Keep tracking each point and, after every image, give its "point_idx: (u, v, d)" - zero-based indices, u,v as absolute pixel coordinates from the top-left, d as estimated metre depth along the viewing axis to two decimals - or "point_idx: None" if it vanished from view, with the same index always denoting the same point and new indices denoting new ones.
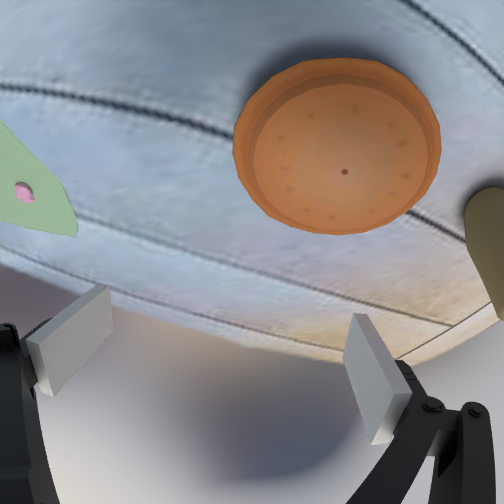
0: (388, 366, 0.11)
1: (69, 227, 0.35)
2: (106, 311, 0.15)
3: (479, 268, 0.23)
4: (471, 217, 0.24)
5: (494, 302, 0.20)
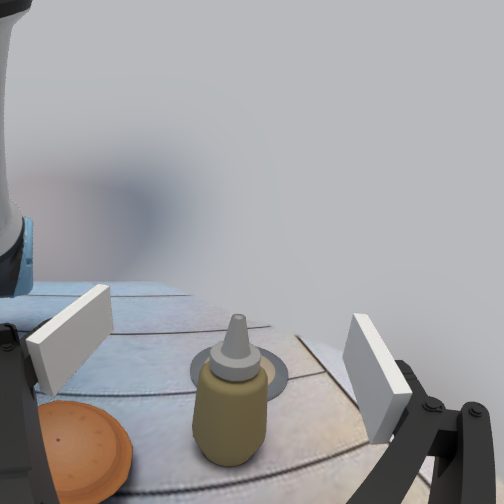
0: (388, 366, 0.11)
1: None
2: (106, 311, 0.15)
3: (213, 431, 0.26)
4: (199, 445, 0.28)
5: (217, 402, 0.25)
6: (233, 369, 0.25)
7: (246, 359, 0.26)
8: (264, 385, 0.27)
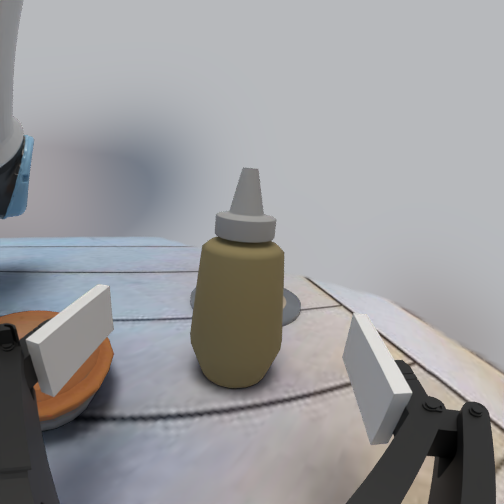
0: (388, 366, 0.11)
1: None
2: (106, 311, 0.15)
3: (217, 320, 0.23)
4: (198, 356, 0.25)
5: (224, 272, 0.22)
6: (244, 223, 0.22)
7: (259, 217, 0.23)
8: (280, 256, 0.24)
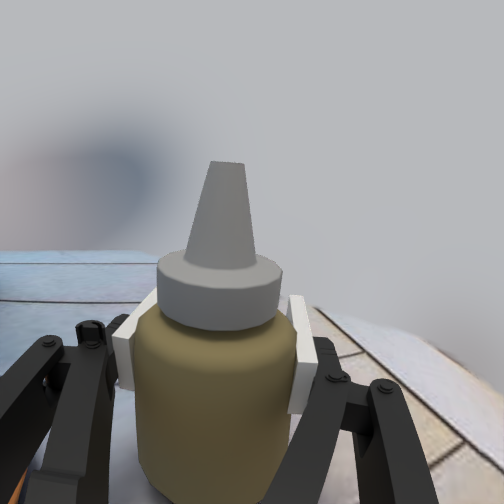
0: (303, 339, 0.12)
1: None
2: None
3: (170, 459, 0.10)
4: None
5: (171, 391, 0.09)
6: (210, 293, 0.09)
7: (245, 272, 0.10)
8: (291, 349, 0.11)
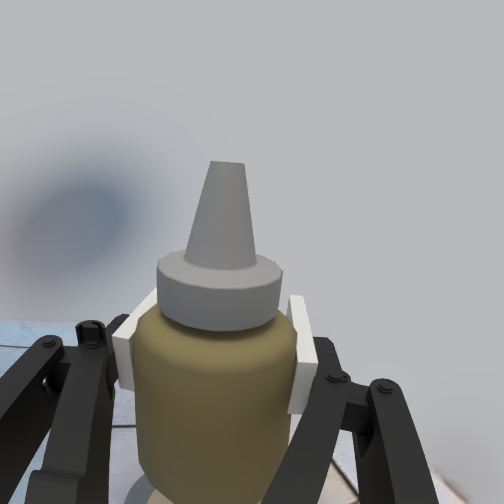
0: (303, 339, 0.12)
1: None
2: None
3: (170, 460, 0.10)
4: None
5: (171, 391, 0.09)
6: (210, 293, 0.09)
7: (245, 272, 0.10)
8: (291, 349, 0.11)
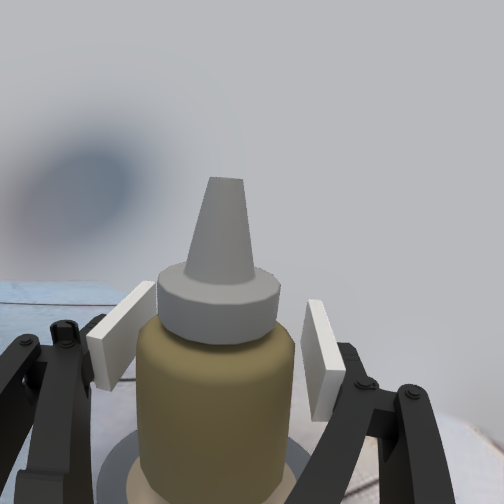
0: (328, 345, 0.12)
1: None
2: (152, 307, 0.17)
3: (171, 466, 0.10)
4: None
5: (172, 402, 0.10)
6: (209, 308, 0.10)
7: (244, 287, 0.11)
8: (289, 360, 0.11)
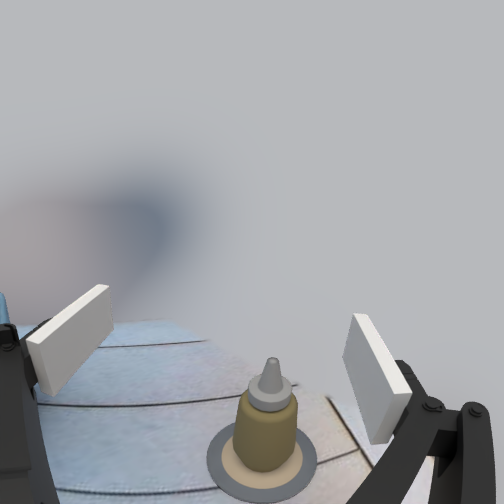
0: (388, 366, 0.11)
1: None
2: (106, 311, 0.15)
3: (252, 448, 0.30)
4: None
5: (256, 428, 0.29)
6: (269, 403, 0.29)
7: (279, 393, 0.30)
8: (294, 412, 0.30)
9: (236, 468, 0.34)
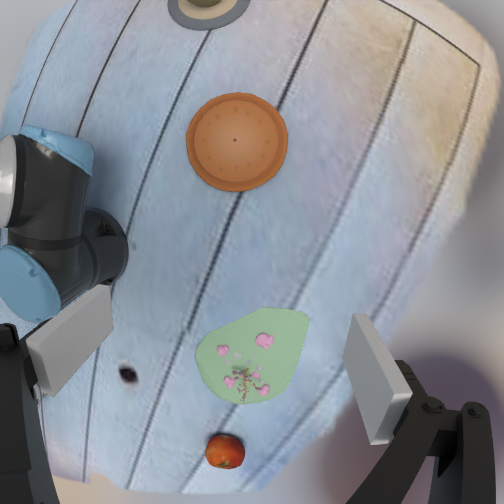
0: (388, 366, 0.11)
1: (300, 319, 0.55)
2: (106, 311, 0.15)
3: None
4: (201, 4, 0.39)
5: None
6: None
7: None
8: None
9: (204, 12, 0.42)
